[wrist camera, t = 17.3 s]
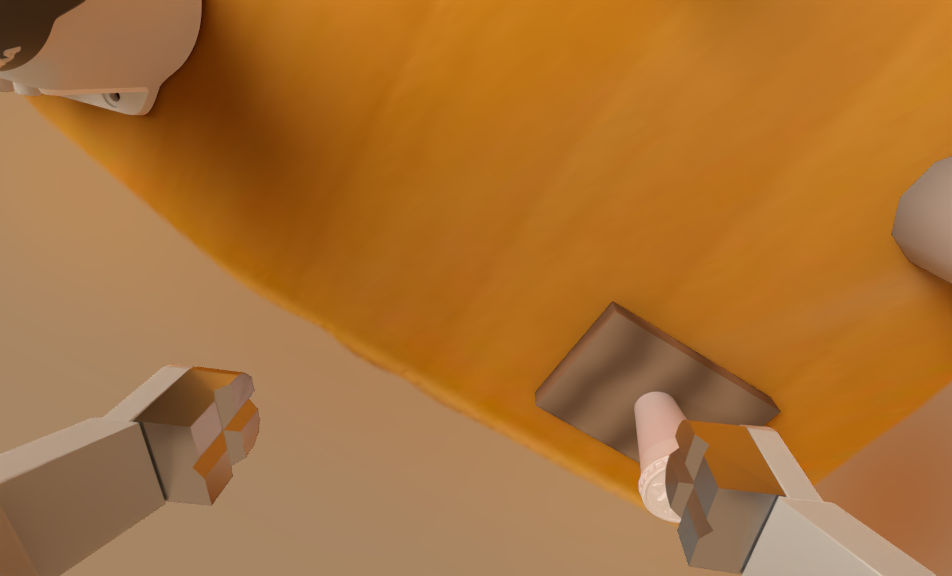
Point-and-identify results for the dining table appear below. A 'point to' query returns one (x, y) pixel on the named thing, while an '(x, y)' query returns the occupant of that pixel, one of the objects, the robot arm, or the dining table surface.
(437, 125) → the dining table surface
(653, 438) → the smoothie
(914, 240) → the toilet tissue
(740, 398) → the walnut board
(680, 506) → the robot arm
